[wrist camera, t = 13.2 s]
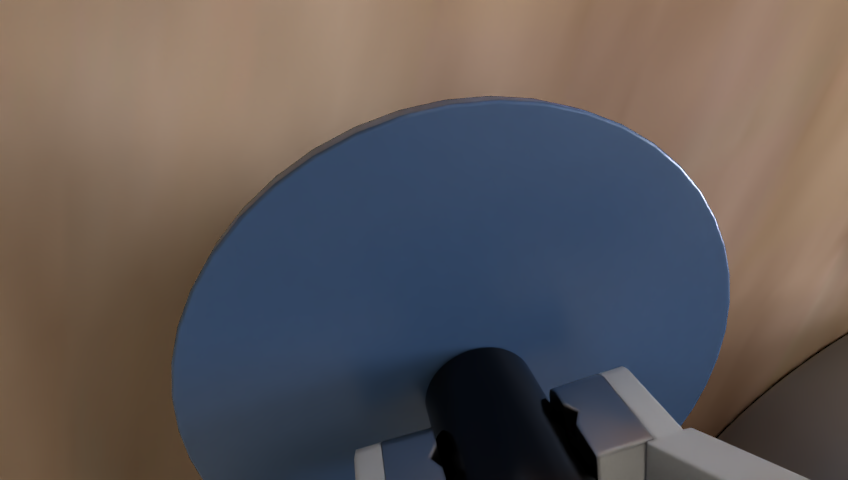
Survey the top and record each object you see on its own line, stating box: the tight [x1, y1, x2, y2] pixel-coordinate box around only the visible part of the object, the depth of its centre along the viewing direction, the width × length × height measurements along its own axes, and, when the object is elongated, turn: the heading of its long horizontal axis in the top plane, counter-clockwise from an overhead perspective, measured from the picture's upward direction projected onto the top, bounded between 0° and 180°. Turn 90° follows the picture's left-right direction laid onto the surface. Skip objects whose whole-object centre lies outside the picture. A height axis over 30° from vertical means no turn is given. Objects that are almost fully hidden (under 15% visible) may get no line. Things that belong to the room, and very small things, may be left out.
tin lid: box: [171, 96, 730, 480], centre depth 9 cm, size 12×12×5 cm
